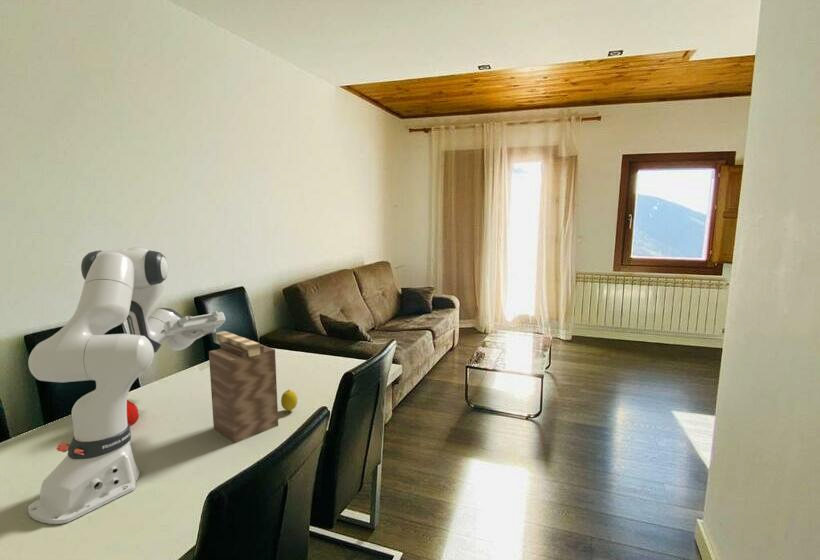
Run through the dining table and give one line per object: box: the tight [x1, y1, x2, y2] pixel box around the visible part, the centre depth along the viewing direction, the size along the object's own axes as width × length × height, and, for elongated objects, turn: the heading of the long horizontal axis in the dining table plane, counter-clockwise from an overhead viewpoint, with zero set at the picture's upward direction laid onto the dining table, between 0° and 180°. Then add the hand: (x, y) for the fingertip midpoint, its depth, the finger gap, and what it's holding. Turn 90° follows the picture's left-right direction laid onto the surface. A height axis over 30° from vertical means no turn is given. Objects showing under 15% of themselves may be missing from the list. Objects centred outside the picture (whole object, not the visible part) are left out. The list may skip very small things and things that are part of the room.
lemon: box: [280, 389, 298, 412], centre depth 151 cm, size 6×6×8 cm
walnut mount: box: [208, 342, 279, 444], centre depth 138 cm, size 15×14×28 cm
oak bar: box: [212, 330, 260, 357], centre depth 139 cm, size 24×4×4 cm, turn 49°
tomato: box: [127, 399, 140, 427], centre depth 137 cm, size 14×13×9 cm
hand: (202, 315), depth 150 cm, fingers open, 8 cm apart
